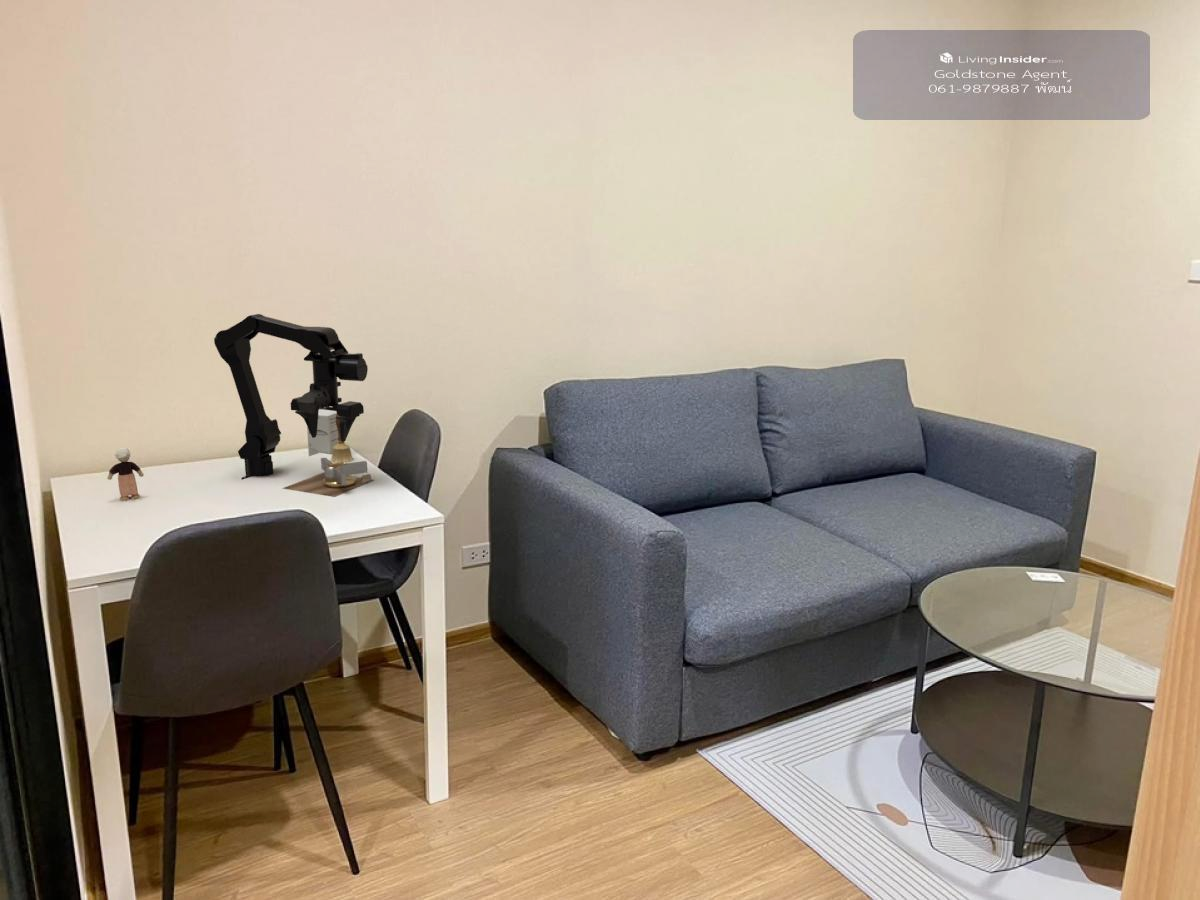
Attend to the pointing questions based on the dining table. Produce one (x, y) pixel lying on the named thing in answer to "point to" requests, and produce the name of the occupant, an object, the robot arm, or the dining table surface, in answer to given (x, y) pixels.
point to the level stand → (318, 487)
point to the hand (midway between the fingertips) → (328, 439)
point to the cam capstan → (341, 472)
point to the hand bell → (341, 449)
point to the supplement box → (324, 434)
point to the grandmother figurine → (125, 474)
